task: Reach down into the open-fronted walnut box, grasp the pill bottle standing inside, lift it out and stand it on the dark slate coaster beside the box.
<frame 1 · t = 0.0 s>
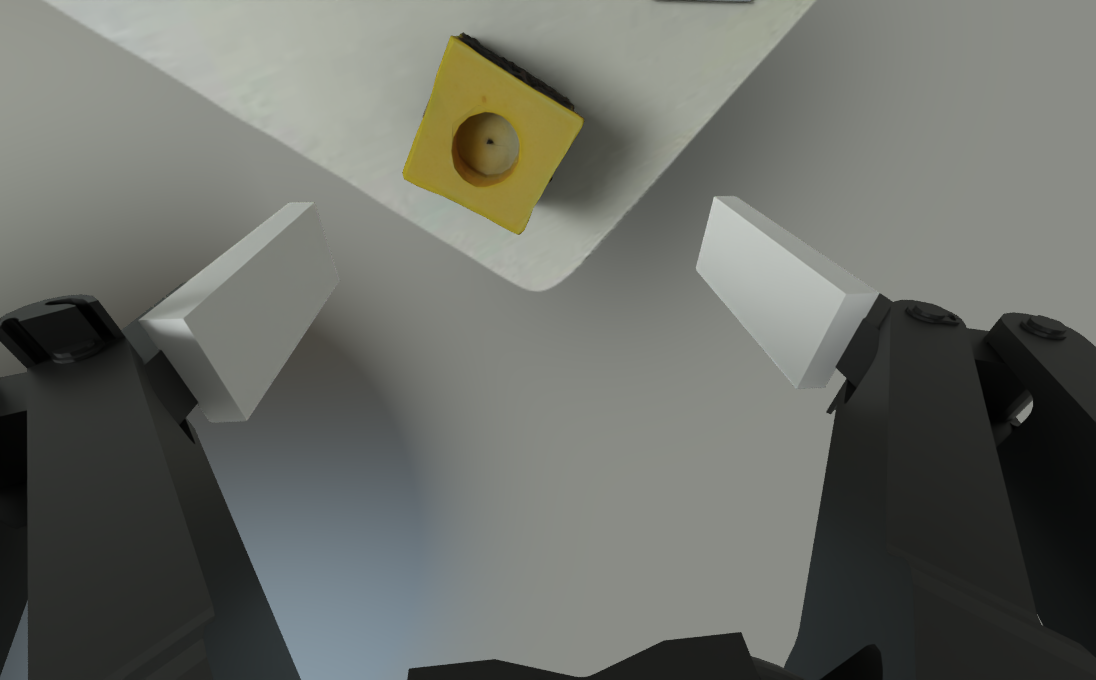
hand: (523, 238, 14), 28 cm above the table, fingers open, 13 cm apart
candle: (494, 124, 37), on the table
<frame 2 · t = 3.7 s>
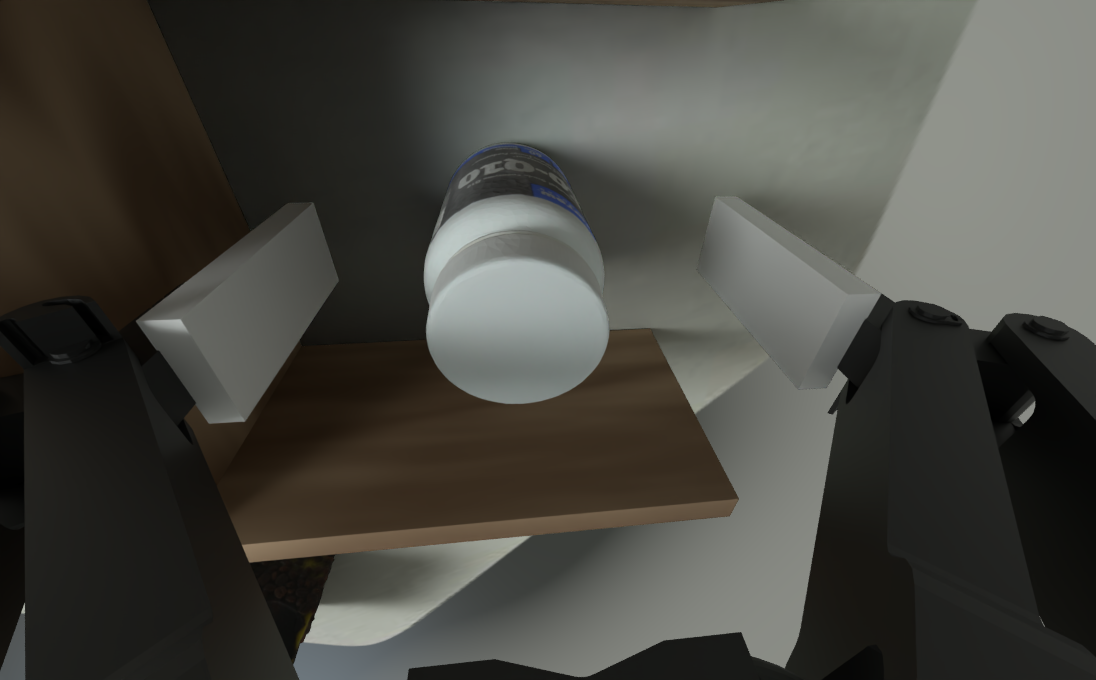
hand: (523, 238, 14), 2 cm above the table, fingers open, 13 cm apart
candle: (248, 566, 29), on the table
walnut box: (456, 209, 15), on the table
pill bottle: (509, 205, 15), on the table
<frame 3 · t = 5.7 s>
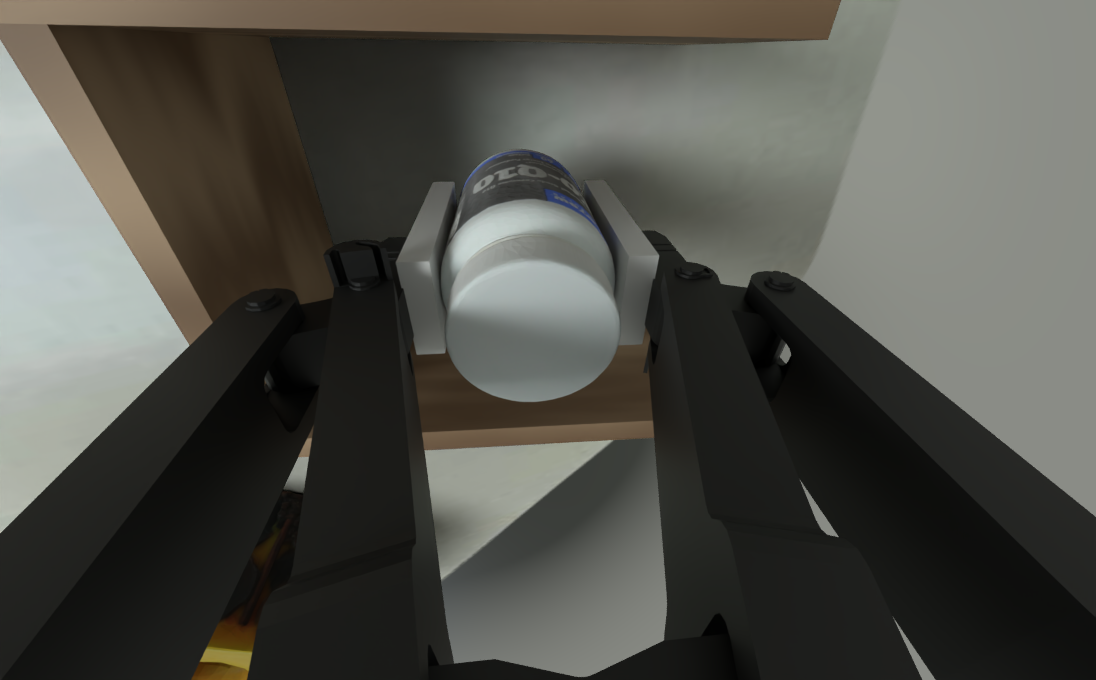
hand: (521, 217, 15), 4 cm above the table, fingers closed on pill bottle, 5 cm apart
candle: (287, 522, 33), on the table
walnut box: (483, 198, 19), on the table
pill bottle: (520, 210, 16), point 4 cm above the table, touching gripper
when the fingers open (1 cm above the table, at t = 10.4 s): pill bottle stays where it is, resting on slate coaster.
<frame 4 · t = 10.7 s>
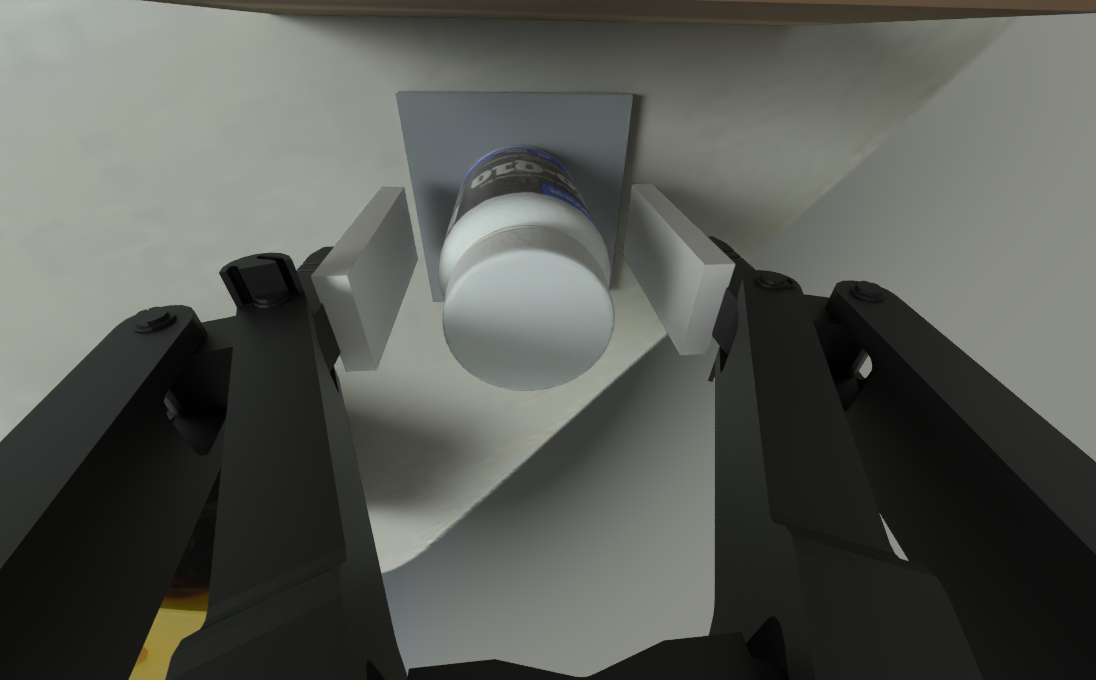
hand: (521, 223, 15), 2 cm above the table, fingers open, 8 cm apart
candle: (227, 437, 23), on the table
pill bottle: (518, 206, 16), resting on slate coaster
slate coaster: (519, 206, 17), on the table
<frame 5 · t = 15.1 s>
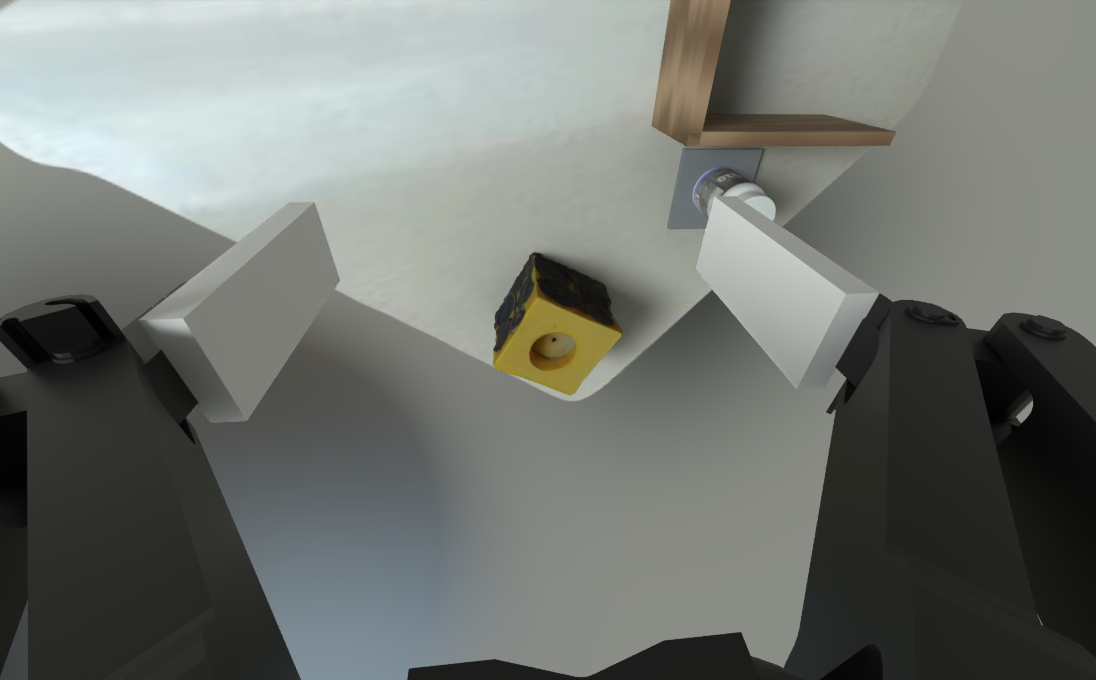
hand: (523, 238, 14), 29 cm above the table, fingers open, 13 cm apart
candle: (548, 299, 49), on the table
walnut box: (760, 35, 35), on the table
pill bottle: (712, 189, 42), resting on slate coaster
slate coaster: (711, 189, 43), on the table
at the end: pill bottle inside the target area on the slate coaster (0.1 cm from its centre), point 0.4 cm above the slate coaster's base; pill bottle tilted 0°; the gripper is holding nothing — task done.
